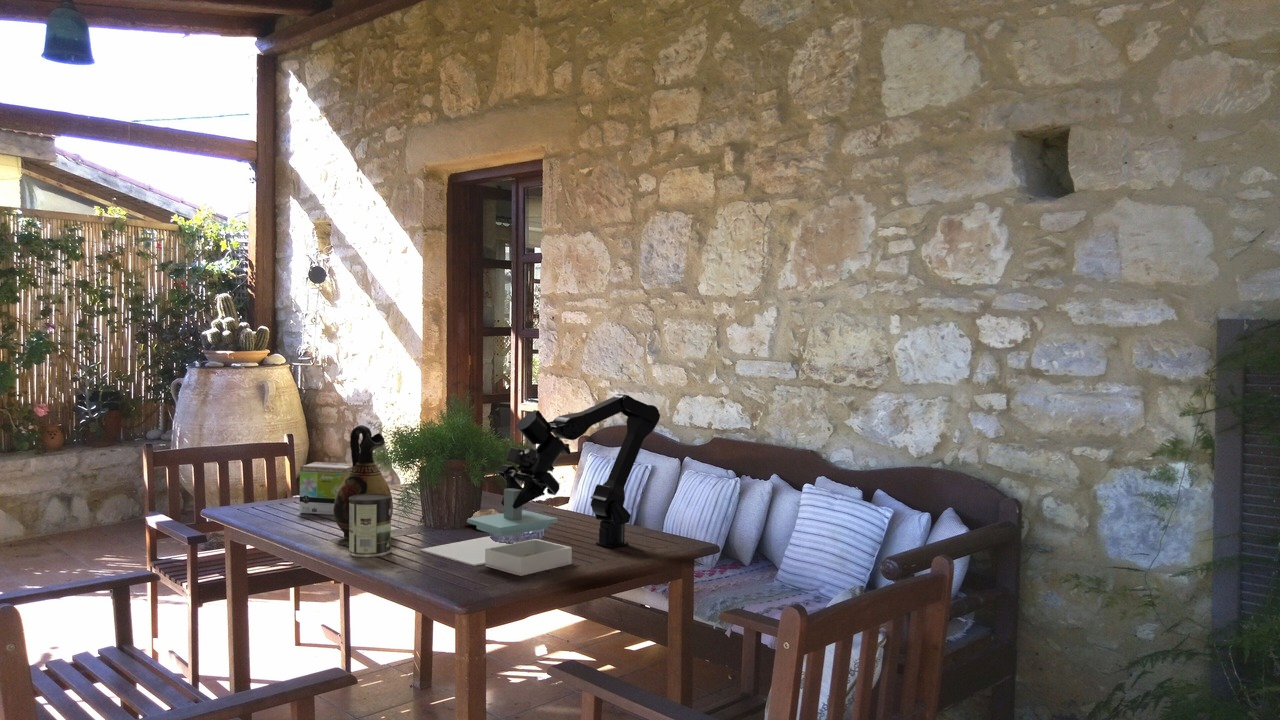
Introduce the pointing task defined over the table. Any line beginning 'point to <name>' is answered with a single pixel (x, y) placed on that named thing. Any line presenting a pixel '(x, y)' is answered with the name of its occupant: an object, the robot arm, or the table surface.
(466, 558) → the grey mat
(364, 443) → the ceramic jug
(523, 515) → the teal lid
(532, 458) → the robot arm
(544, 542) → the parts tub
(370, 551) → the coffee can
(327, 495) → the tea box
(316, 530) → the table surface
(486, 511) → the pottery oil lamp
